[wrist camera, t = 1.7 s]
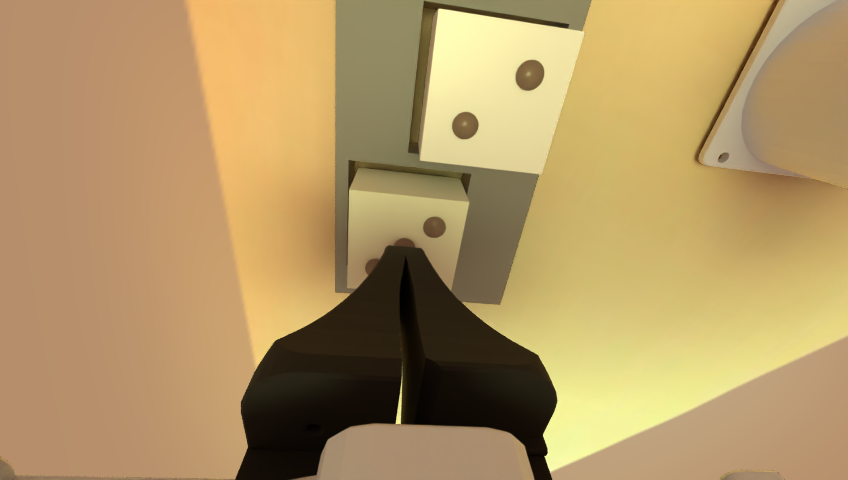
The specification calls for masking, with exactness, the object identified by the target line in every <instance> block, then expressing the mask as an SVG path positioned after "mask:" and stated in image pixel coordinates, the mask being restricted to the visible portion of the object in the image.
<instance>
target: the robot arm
mask: <svg viewBox="0 0 848 480" xmlns="http://www.w3.org/2000/svg"><path fill="white" fill-rule="evenodd" d="M722 153H723V154H722ZM721 154H722V157H721V158H720V159H718V157H719V156H720V155H721ZM698 158H699V162H700V163H701V164H704V165H707V166H712V167H720V168H728V169H736V170H744V171H752V172H760V173H768V174H777V175H785V176H793V177H801V178H809V179H816V180H820V181H823V182H826V183H829V184H832V185H836V186H839V187H842V188H845V189H848V0H779V2H778V4H777V6H776V8H775V9H774V11H773V13H772V15H771V17H770V19H769V21H768V23H767V25H766V27H765V29H764V31H763V33H762V34H761V36H760V38H759V40H758V42H757V44H756V46H755V48H754V50H753V52H752V54H751V56H750V58H749V59H748V61H747V63H746V65H745V67H744V69H743V71H742V73H741V75H740V77H739V79H738V81H737V83H736V84H735V86H734V88H733V90H732V92H731V94H730V96H729V98H728V100H727V102H726V104H725V106H724V108H723V109H722V111H721V113H720V115H719V117H718V119H717V121H716V123H715V125H714V127H713V129H712V131H711V133H710V134H709V136H708V138H707V140H706V142H705V144H704V146H703V148H702V150H701V152H700V154H699V157H698ZM402 375H403V378H402ZM401 380H402V408H401V424H395V423H396V416H397V409H398V402H399V395H400V388H401ZM556 404H557V395H556V391H555V388H554V386H553V384H552V381H551V379H550V377H549V375H548V373H547V371H546V369H545V367H544V365H543V364H542V362H541V360H540V358H539V356H538V355H537V354H535V353H533V352H531V351H530V350H528V349H526V348H524V347H522V346H520V345H518V344H517V343H515V342H513V341H511V340H510V339H508V338H506V337H505V336H503V335H502V334H500V333H499V332H497V331H496V330H494V329H493V328H491V327H490V326H489V325H487V324H486V323H485V322H483V321H482V320H481V319H480V318H478V317H477V316H476V315H475V314H473V313H472V312H471V311H470V310H469V309H468V308H467V307H466V306H465V305H464V304H463V303H461V302H460V301H459V300H458V299H457V298H456V296H455V295H454V294H453V293H452V292H451V291H450V289H449V288H448V287H447V286H446V284H445V283H444V282H443V281H442V279H441V278H440V276H439V275H438V273H437V272H436V271H435V269H434V268H433V266H432V264H431V263H430V261H429V259H428V258H427V256H426V254H425V252H424V250H423V249H422V248H416V247H404V246H393V245H388V246H387V247H385V250H384V253H383V255H382V256H381V258H380V260H379V261H378V263H377V264H376V266H375V267H374V268H373V270H372V271H371V273H370V274H369V275H368V276H367V277H366V279H365V280H364V281H363V282H362V283H361V284H360V285H359V287H358V288H357V289H356V290H355V291H354V292H353V293H352V294H350V295H349V296H348V297H347V298H346V299H345V300H344V301H343V302H341V303H340V304H339V305H338V306H336V307H335V308H334V309H332V310H331V311H330V312H328V313H327V314H325V315H324V316H322V317H321V318H319V319H318V320H316V321H314V322H313V323H311V324H309V325H307V326H305V327H304V328H302V329H300V330H297V331H295V332H293V333H291V334H289V335H287V336H285V337H283V338H280V339H278V340H276V341H275V342H274V343H273V345H272V346H271V347H270V349H269V350H268V352H267V353H266V355H265V356H264V358H263V359H262V361H261V362H260V364H259V365H258V367H257V369H256V371H255V372H254V375H253V377H252V379H251V381H250V383H249V386H248V388H247V390H246V392H245V394H244V396H243V399H242V401H241V415H242V420H243V424H244V429H245V434H246V439H247V443H248V449H247V451H246V454H245V456H244V459H243V462H242V464H241V466H240V469H239V471H238V474H237V476H236V479H197V478H141V477H86V476H85V477H84V476H82V477H81V476H31V475H30V476H29V475H15V472H14V470H13V468H12V466H11V465H10V464H9V462H8V461H7V460H5V459H4V458H3V457H1V456H0V480H552V478H551V474H550V471H549V469H548V466H547V463H546V460H545V457H544V456H546V455H547V453H548V451H547V446H546V443H545V440H544V438H543V433H544V431H545V429H546V427H547V425H548V423H549V421H550V419H551V417H552V415H553V413H554V411H555V408H556ZM718 480H785V479H784V478H783V477H782V476H781V474H780V473H779V472H776V471H769V470H734V471H731V472H728V473H726V474H724V475H723V476H721V477H720V478H719V479H718Z"/></svg>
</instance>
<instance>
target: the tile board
mask: <svg viewBox="0 0 848 480" xmlns="http://www.w3.org/2000/svg"><path fill="white" fill-rule="evenodd" d="M590 4H591V0H336V165H335V292H337V293H351V294H352V293H353V292H354V291H355V290H356V289H353V288H347V268H348V223H349V189H350V187H351V184H352V182H353V180H354V164H355V161H362V162H371V163H380V164H388V165H397V166H406V167H415V168H424V169H433V170H442V171H451V172H460V173H463V174H462V179H461V183H462V185H463V188H464V190H465V193H466V195H467V197H468V200H469V206H468V211H467V216H466V221H465V226H464V231H463V236H462V240H461V245H460V250H459V255H458V260H457V265H456V270H455V274H454V279H453V284H452V289H451V292H452V293H453V294H454V295H455V296H456V298H457V299H458V300H459V301H460V302H471V303H484V304H498V305H500V303H501V300H502V297H503V293H504V290H505V287H506V283H507V280H508V277H509V273H510V270H511V267H512V263H513V260H514V257H515V253H516V250H517V247H518V243H519V240H520V237H521V233H522V230H523V227H524V223H525V220H526V217H527V213H528V210H529V207H530V203H531V200H532V197H533V193H534V190H535V187H536V183H537V180H538V177H539V174H533V173H525V172H516V171H507V170H498V169H490V168H481V167H472V166H463V165H455V164H446V163H437V162H428V161H420V156H419V147H418V143H412V142H409V138H410V128H411V119H412V109H413V99H414V90H415V80H416V71H417V61H418V51H419V42H420V32H421V23H422V13H423V7H424V8H430V9H436V10H438V9H445V10H451V11H458V12H464V13H470V14H477V15H483V16H489V17H496V18H502V19H508V20H514V21H521V22H527V23H533V24H540V25H546V26H552V27H558V28H565V29H571V30H577V31H582V30H583V27H584V24H585V20H586V17H587V14H588V10H589V7H590Z"/></svg>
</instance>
